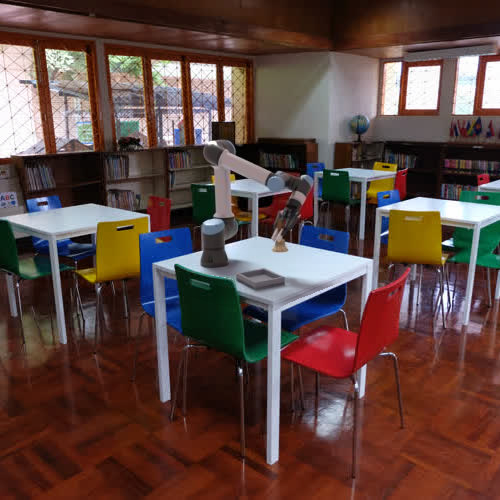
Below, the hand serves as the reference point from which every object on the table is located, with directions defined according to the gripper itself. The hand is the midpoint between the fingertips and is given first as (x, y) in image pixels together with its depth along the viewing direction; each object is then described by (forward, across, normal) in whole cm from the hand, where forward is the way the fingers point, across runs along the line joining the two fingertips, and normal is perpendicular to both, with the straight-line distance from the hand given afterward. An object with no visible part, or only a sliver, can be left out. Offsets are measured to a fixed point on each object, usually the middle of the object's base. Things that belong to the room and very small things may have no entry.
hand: (275, 240), depth 242 cm
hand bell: (+1, 0, -7) cm, 7 cm away
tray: (+22, -1, -3) cm, 22 cm away
